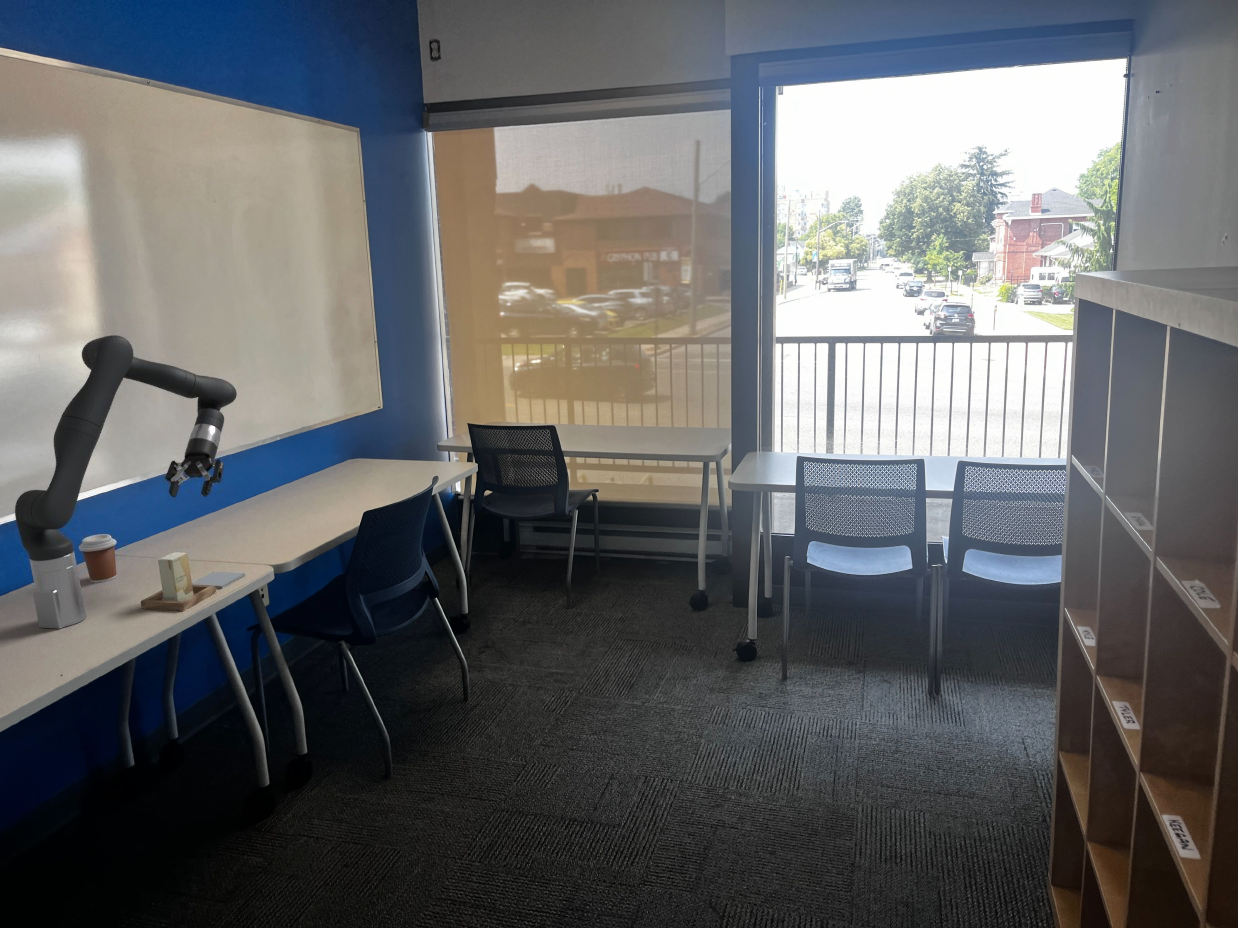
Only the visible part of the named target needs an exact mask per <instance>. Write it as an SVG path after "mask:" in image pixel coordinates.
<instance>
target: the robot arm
mask: <svg viewBox="0 0 1238 928" xmlns="http://www.w3.org/2000/svg"><path fill="white" fill-rule="evenodd" d="M81 359H82V362H83V364H84V365H85V366H86V367H87V368H88V369H89V370H90V372H89V375H88V377H87V379H86V381H85V382H84V384H83V386H81V388H80V389H79V390H78V391H77V393H76V394H75V396H74V397H72V399H71V401H70V402H69V403H68V404H67V406H66V407H65V409H64V410H63V412H62V414H61V416H60V419H59V421H58V423H57V426H56V429H55V431H54V434H53V435H54V436H53V450H54V457H55V467H54V468H55V469H54V472H53V476H52V478H51V481H50V483H49V485H48V486H47V489H46V490H45V489H30V490H26V491H24V492H23V493H22V494H20V495H19V497H18V498H17V500H16V502H15V506H14V515H15V516H14V517H15V522H16V525H17V530H18V533H19V537H20V541H21V544H22V547H23V548H24V550H25V551H26V553H27V555H28V558H29V563H30V568H31V574H32V577H33V583H34V587H35V589H34V590H32V597H33V598H32V599H33V602H34V608H35V612H36V618H37V623H38V626H39V628H45V629H62V628H65V627H68V626H69V627H70V626H73V625H75V624H77V623H80V622H82V621H83V620H85V619H86V618H87V612H86V607H85V601H84V597H83V592H82V587H81V582H80V574H79V571H78V565H77V559H76V555H75V549H74V544H73V542H72V540H71V539H70V538H68V537H66V535H64V534H63V533H62V532H61V531H60V530H59V529H63V528H64V527H65V526H66V525H68V524H69V522H70V521H71V519H72V518H73V515H74V513H75V510H76V506H77V502H78V498H79V495H80V491H81V487H82V484H83V481H84V477H85V475H86V472H87V469H88V466H89V464H90V460H91V459H92V455H93V453H94V450H95V449H96V448H95V447H96V446H97V443H98V441H99V439H100V436H101V433H102V431H103V428H104V426H105V423H106V419H107V417H108V415H109V412H110V410H111V407H112V404H113V402H114V399H115V396H116V394H117V391H118V389H120V388H119V387H120V386H121V384H122V382H123V380H124V379H127V380H131V381H136V382H139V383H142V384H144V385H145V384H146V385H149V386H151V387H155V388H157V389H160V390H164V391H167V392H169V393H172V394H175V395H177V396H180V397H184V398H187V399H197V404H196V405H197V410H196V412H197V416H196V419H195V423H194V426H193V428H192V430H191V433H190V436H189V437H188V441H187V444H186V445H187V446H186V449H185V452H184V459H183V460H182V461H181V462H177V461H176V460H171V462H170V464H169V466H168V470H167V471H166V475H165V477H164V479H165V480H166V482H168V483H169V484H170V487H169V489H168V494H169V495H170V496H171V497H172V498H176V497H177V496H178V493H179V489H180V485H181V484H182V483H183V482H186V481H187V480H188V479H192V478H193V479H194V478H198V479H199V478H202V477H203V478H204V479H205V481H203V484H202V487H201V492H200V494H201V495H202V497H205V498H206V497H208V495H210V493H211V490H212V487H213V485H214V484H215V483H218V484H219V483H220V482H222V478H223V473H224V468H225V464H224V462H222V461H221V460H220V459H216V455H217V453H218V449H219V445H220V441H221V435H222V431H223V427H224V424H225V415H224V414H223V413H222V412H221V409H222V408H224V407H226V406H228V405H231V404H233V402H234V401H235V400H236V398H237V396H238V393H237V389H236V388H235V386H234V385H233V384H232V383H230V382H229V381H227V380H225V379H223V378H218V377H213V376H207V375H201V374H200V375H199V374H196V373H193V372H191V371H189V370H185V369H183V368H180V367H177V366H174V365H171V364H166V363H165V364H164V363H161V362H155V361H151V360H146V359H142V358H139V357H136V356H134V349H133V346H132V344H131V342H130V341H129V340H128V339H127V338H125V337H124V336H121V335H114V334H112V335H106V336H101V337H98V338H95V339H92V340H90V341H88V342H87V343H86V344H85V345H84V346H83V348H82V350H81ZM212 469H213V473H212V476H211V474H210V473H209V472H210V471H211V470H212Z"/></svg>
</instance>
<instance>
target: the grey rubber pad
mask: <svg viewBox="0 0 1238 928" xmlns="http://www.w3.org/2000/svg"><path fill="white" fill-rule="evenodd" d="M244 577H246V573H245V572H236V571H235V572H232V571H231V572H230V571H214V570H213V571H212V572H210V573H208V574H206V575H204V576H202V577H200V578H198V579H196V580H194V581H193V582H192V584H194V585H214V586H215V588H216V589H217V588H223V587H225V586H226V587H228V586H229V584H230V585H231V583H232V584H233V583H235V582H237V581H238V579H239V580H240V579H242V578H244ZM236 580H237V581H236ZM227 585H228V586H227ZM226 587H225V588H226ZM223 589H224V588H223Z"/></svg>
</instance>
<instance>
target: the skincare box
mask: <svg viewBox="0 0 1238 928" xmlns="http://www.w3.org/2000/svg"><path fill="white" fill-rule="evenodd" d="M157 563H158V569H159V576H160V582H161V583H160V584H161V590H162V591H163V597H164V599H163V600H165V601H184V600H186V599H187V598H189V597H191V596H193V595H195V593H193V588H192V583H193V582H192V574H191V567H190V562H189V554H188V552H178V551H177V552H175V551H174V552H172V553H170V554H166V555H165V556H162V557H160V558H158V559H157Z"/></svg>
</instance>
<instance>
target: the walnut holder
mask: <svg viewBox="0 0 1238 928" xmlns="http://www.w3.org/2000/svg"><path fill="white" fill-rule="evenodd" d="M192 588H193V594H194V595H193V596H191V597H189V598H187V599H186V600H184V601H165V600H164V597H163V591H162V589H161V590H160V591H157V592H155V593H154V594H151V595H150V596H148V597H146V598H144V599H142V600H140V606H141V609H145V610H159V609H160V610H159V611H161V610H162V611H177V610H180V611H181V612H184V611H183V610H185V611H186V609H187V610H189V609H191V608H192V607H194V606H195V605H197V604H199V603H200V602H202V601H204V600H206V599H208V598H210V597H211V596H213V595H214V593H215V592H216V593H217V588H215V586H214V585H194V584H192ZM216 593H215V594H216ZM212 594H213V595H212ZM210 595H211V596H210ZM209 596H210V597H209Z"/></svg>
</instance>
